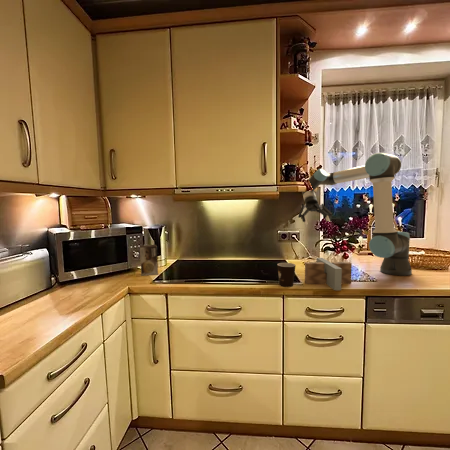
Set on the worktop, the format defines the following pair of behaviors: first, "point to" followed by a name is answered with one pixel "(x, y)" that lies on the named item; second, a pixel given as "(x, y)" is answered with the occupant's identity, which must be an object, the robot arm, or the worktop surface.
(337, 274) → the grey plain narrow board
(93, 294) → the worktop surface
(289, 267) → the coffee mug
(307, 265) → the walnut slotted board
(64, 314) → the worktop surface
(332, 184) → the robot arm
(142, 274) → the coffee box
